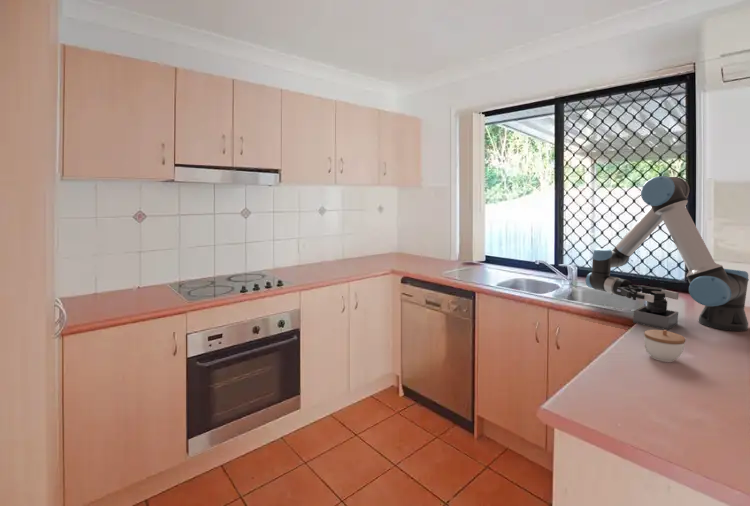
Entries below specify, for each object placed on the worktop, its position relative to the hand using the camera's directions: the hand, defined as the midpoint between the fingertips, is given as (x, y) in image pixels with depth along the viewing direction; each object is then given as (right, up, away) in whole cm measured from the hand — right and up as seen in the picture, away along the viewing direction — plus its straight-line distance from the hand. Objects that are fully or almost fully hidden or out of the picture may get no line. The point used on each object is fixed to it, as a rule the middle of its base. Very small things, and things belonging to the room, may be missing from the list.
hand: (665, 297), depth 162 cm
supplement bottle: (-1, -10, +5) cm, 11 cm away
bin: (-1, -11, +5) cm, 12 cm away
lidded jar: (-23, -16, -31) cm, 42 cm away
